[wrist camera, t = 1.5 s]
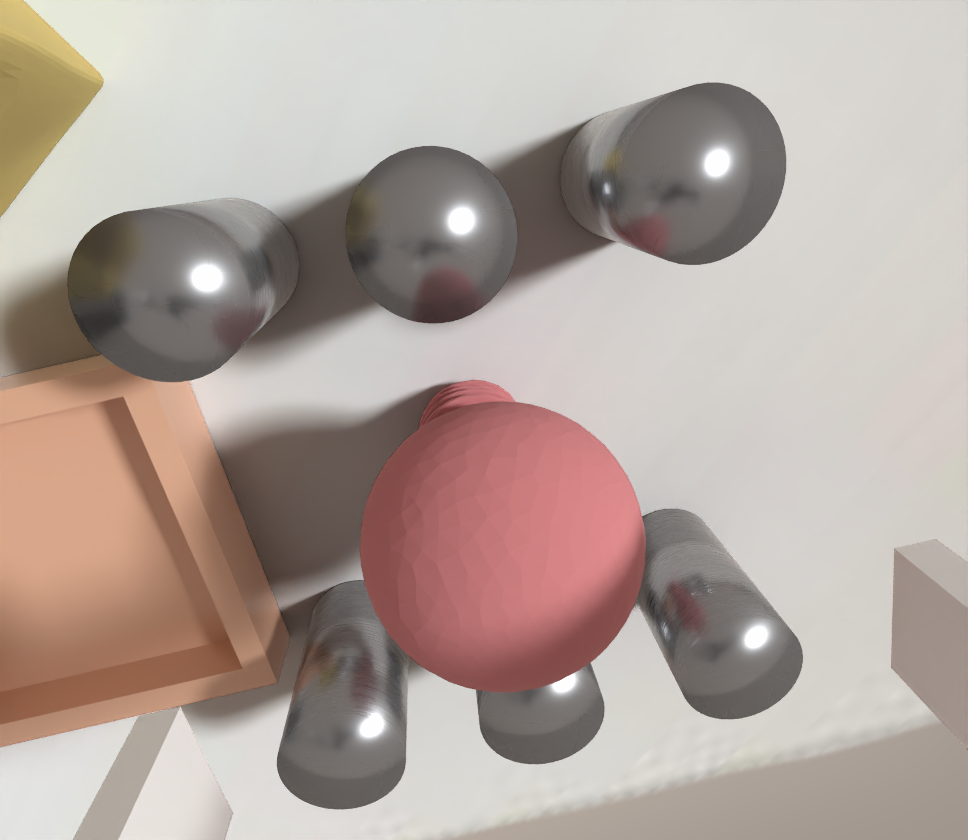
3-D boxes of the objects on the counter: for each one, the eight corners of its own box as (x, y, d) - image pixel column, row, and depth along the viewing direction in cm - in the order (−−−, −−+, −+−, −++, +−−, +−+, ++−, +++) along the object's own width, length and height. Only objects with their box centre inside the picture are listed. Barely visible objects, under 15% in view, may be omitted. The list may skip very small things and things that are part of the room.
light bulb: (584, 481, 26) (709, 717, 15) (409, 526, 26) (401, 796, 15) (549, 307, 23) (668, 434, 12) (355, 357, 23) (293, 529, 12)
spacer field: (328, 669, 28) (299, 820, 21) (155, 212, 21) (36, 231, 14) (715, 580, 28) (804, 703, 22) (671, 97, 21) (783, 64, 15)
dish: (-18, 708, 27) (-61, 761, 25) (-202, 422, 22) (-277, 453, 20) (290, 637, 27) (277, 683, 25) (171, 338, 22) (142, 358, 20)
